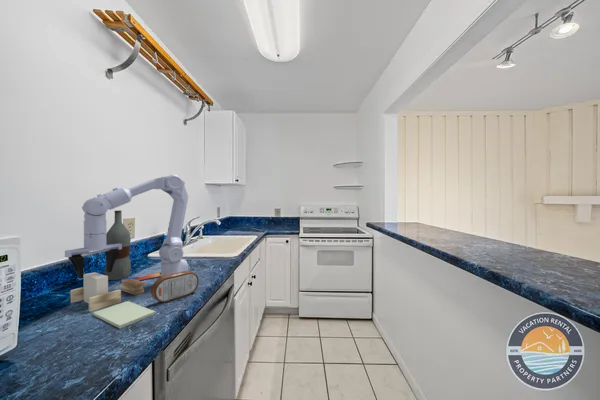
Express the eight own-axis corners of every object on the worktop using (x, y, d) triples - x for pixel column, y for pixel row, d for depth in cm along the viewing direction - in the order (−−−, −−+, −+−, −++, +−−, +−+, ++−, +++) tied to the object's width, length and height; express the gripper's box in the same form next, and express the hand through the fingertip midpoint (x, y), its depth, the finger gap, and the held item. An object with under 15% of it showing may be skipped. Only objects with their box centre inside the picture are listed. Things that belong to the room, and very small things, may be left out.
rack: (100, 294, 86) (100, 283, 86) (120, 302, 78) (120, 290, 78) (70, 302, 79) (70, 290, 79) (90, 312, 71) (90, 298, 71)
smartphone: (120, 281, 101) (120, 279, 101) (161, 274, 111) (160, 271, 111) (121, 286, 96) (120, 283, 96) (163, 277, 105) (163, 275, 105)
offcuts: (130, 287, 92) (130, 278, 92) (145, 292, 87) (145, 282, 87) (120, 290, 89) (120, 280, 89) (135, 295, 84) (135, 285, 84)
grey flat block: (94, 298, 82) (94, 272, 82) (108, 303, 77) (107, 276, 77) (83, 301, 80) (83, 274, 80) (96, 307, 75) (96, 278, 75)
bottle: (104, 277, 106) (104, 210, 106) (129, 273, 112) (129, 210, 112) (105, 282, 99) (105, 211, 99) (132, 277, 105) (132, 210, 106)
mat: (127, 303, 77) (127, 301, 77) (155, 314, 69) (155, 311, 69) (93, 315, 69) (93, 312, 69) (119, 328, 61) (119, 325, 61)
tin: (195, 290, 88) (195, 267, 88) (200, 292, 86) (199, 269, 86) (150, 304, 76) (150, 278, 76) (154, 306, 74) (154, 280, 74)
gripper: (115, 230, 87) (115, 267, 87) (61, 235, 74) (61, 279, 74) (124, 231, 83) (124, 270, 83) (69, 237, 71) (69, 282, 71)
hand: (95, 274), depth 78 cm, fingers open, 7 cm apart
